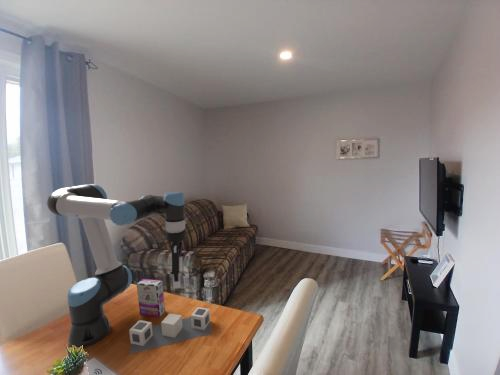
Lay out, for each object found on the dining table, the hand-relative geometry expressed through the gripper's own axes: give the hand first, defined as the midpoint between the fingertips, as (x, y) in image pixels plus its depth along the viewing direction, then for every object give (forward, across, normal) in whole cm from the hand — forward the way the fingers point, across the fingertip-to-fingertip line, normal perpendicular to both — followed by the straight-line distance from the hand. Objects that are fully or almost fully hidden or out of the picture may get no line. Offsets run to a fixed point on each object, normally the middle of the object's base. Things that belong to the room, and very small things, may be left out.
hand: (178, 279), depth 103 cm
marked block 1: (+24, -1, +16) cm, 29 cm away
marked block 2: (+24, +2, -9) cm, 25 cm away
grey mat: (+25, +1, +4) cm, 25 cm away
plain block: (+24, +1, +4) cm, 24 cm away
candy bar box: (+25, +16, +14) cm, 33 cm away
